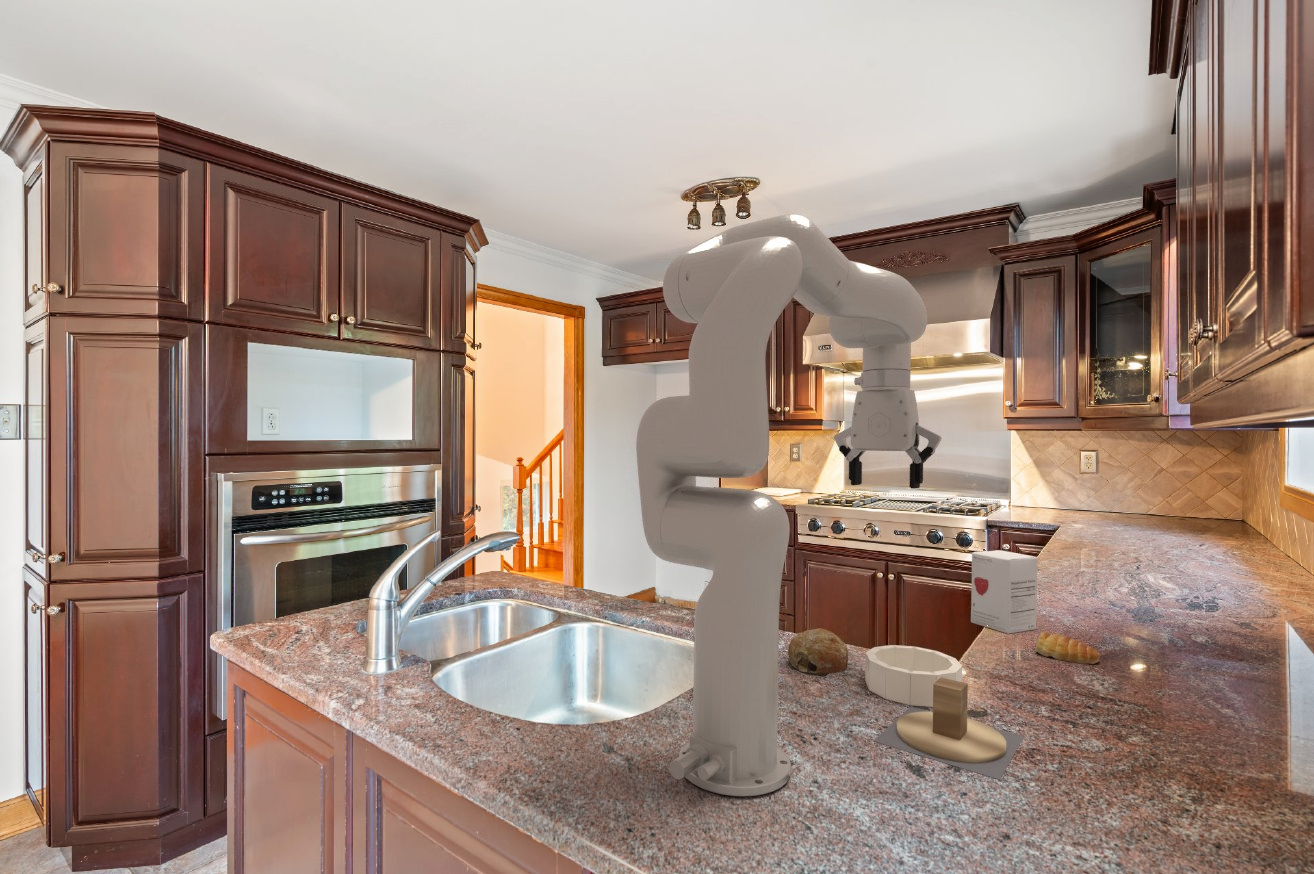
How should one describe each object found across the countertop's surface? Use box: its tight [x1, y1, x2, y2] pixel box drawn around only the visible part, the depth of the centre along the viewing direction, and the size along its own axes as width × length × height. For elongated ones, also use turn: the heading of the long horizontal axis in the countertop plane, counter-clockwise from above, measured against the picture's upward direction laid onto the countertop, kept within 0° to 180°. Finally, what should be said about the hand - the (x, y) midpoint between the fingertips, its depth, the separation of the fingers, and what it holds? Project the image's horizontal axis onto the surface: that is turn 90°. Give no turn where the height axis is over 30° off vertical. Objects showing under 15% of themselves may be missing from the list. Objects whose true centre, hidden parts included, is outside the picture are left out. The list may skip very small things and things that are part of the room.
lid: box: [897, 677, 1006, 763], centre depth 81 cm, size 12×12×7 cm
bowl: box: [865, 644, 963, 708], centre depth 98 cm, size 13×13×5 cm
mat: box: [873, 705, 1025, 781], centre depth 81 cm, size 14×14×1 cm
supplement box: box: [970, 549, 1039, 635], centre depth 135 cm, size 9×9×15 cm
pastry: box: [1035, 631, 1101, 665], centre depth 115 cm, size 9×7×4 cm
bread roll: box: [787, 627, 849, 676], centre depth 109 cm, size 10×10×8 cm
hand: (884, 486), depth 107 cm, fingers open, 9 cm apart
